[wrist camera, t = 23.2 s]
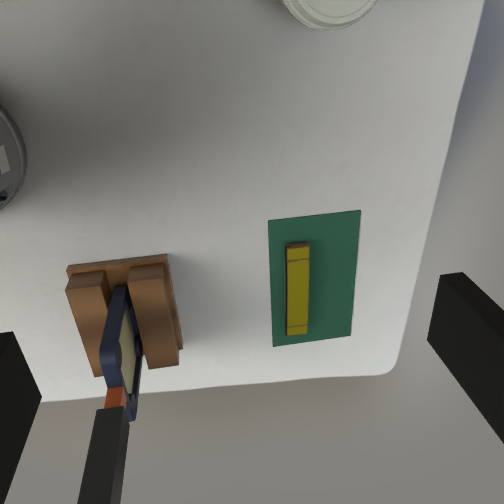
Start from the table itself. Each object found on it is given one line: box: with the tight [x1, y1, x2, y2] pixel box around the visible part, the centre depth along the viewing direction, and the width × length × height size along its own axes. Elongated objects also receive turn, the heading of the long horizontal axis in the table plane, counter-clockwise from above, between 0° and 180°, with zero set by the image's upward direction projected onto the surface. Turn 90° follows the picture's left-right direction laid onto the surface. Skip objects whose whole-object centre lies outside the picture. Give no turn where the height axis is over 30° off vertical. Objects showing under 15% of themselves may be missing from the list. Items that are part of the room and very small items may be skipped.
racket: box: [77, 286, 143, 504], centre depth 44 cm, size 11×3×27 cm, turn 3°
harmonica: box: [285, 242, 309, 336], centre depth 58 cm, size 15×3×2 cm, turn 2°
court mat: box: [268, 210, 361, 347], centre depth 59 cm, size 12×21×1 cm, turn 3°
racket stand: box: [65, 254, 183, 377], centre depth 54 cm, size 15×12×5 cm
